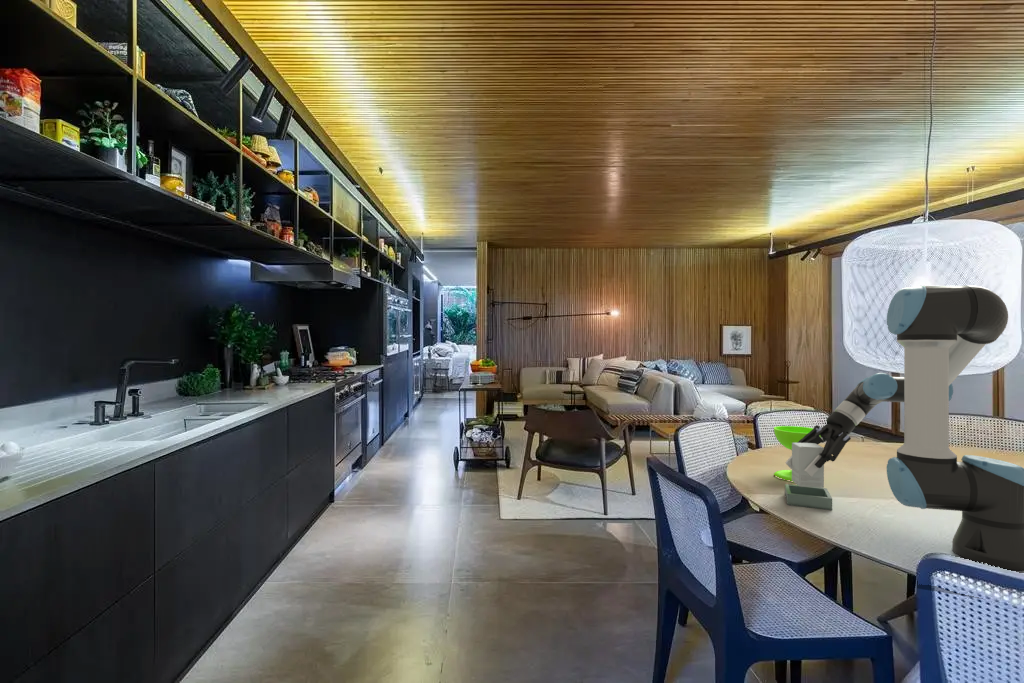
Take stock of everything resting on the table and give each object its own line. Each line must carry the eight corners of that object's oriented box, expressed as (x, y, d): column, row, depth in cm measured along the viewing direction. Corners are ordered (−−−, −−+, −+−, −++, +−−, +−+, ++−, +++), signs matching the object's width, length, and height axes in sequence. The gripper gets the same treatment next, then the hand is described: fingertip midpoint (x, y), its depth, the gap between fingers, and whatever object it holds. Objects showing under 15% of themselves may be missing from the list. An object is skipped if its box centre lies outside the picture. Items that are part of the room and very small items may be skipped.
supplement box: (824, 488, 164) (824, 447, 163) (798, 486, 165) (798, 446, 165) (815, 481, 171) (816, 442, 171) (791, 480, 172) (791, 441, 172)
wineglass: (829, 478, 196) (829, 430, 196) (811, 486, 186) (811, 435, 185) (784, 470, 208) (784, 424, 208) (765, 476, 198) (765, 428, 198)
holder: (832, 510, 160) (832, 498, 160) (787, 505, 164) (787, 493, 164) (826, 499, 171) (826, 488, 171) (784, 494, 175) (785, 484, 175)
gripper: (879, 432, 159) (829, 487, 157) (828, 421, 180) (784, 469, 179) (863, 415, 158) (812, 470, 157) (814, 405, 179) (769, 453, 178)
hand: (797, 469), depth 168 cm, fingers closed on supplement box, 9 cm apart
